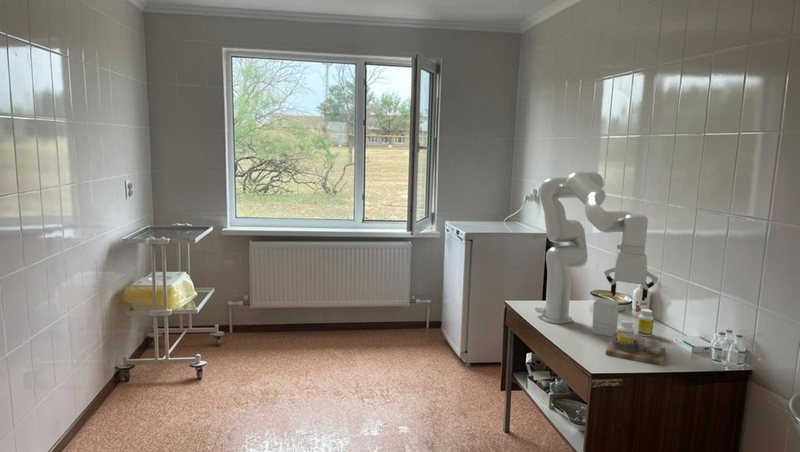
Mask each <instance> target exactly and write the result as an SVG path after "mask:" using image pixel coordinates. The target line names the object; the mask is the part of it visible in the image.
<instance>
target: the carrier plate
mask: <svg viewBox="0 0 800 452" xmlns="http://www.w3.org/2000/svg"><path fill="white" fill-rule="evenodd" d="M606 354H607V355H606ZM665 354H666V348H665V347H661V341H659V340H658V339H654V338H645V339H644V342H643V343H640V342H639V341H638V340H637V339H635V338H634V341H633V344H625V343H621V342H618V341H617V336H614V337H613V338H611V339H610V341H609V343H608V346H607V347H606V349H605V355H606V356H610V355H611V356H610V357H615V356H616V357H615V358H622V359H625V360H626V359H627V360H632V361H637V362H642V363H647V364H651V365H653V364H654V365H657V366H663V365H664V360H665Z"/></svg>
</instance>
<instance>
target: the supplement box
mask: <svg viewBox="0 0 800 452" xmlns="http://www.w3.org/2000/svg"><path fill="white" fill-rule="evenodd" d="M619 302H620V301H618V300H611V299H606V298H599V299H597V300H595V301H593V312H592V314H593V315H592V332H591V333H594V334H598V335H602V336H606V337H612V336H613V335H615V334H616V333H618V319H619V318H618V317H619Z"/></svg>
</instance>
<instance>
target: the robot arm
mask: <svg viewBox="0 0 800 452" xmlns="http://www.w3.org/2000/svg"><path fill="white" fill-rule="evenodd" d="M604 183H605V181H604V178H603V177H602V175H601V174H600V173H598V172H595V171H575V172H573V173H570V175H568V176H567V177H565V176H564V177H561V176H560V177H556V176H555V177H549V178H547V179H546V180H544V181H542V184H541V185H540V188H539V199H540V203H541V205H542V209H543V214H544V215H543V216H544V222H545V223H544V224H545V230H546V237H547V240H548V241H550V242H551V243H554V244H555V243H556V244H557V243H568V245H566V244H565V245H556V246H552V247H550V248H549V249H548V250H547V251H546V253H545V261H546V269H547V270H546V271H547V274H546V276H547V278H546V279H547V280H546V291H545V292H546V293H545V295H546V297H545V306H543V307H540V306H535V308H534V309H535V312H536V313H537V314H538V313H539V314H541V315H540V317H541V318H540V319H541V320H542V321H545V322H546V323H551V324H554V325H555V324H557V325H566V324H570V323H572V322H573V317H572V316H570V314H569V313H570V300H571V299H570V296H571V286H572V285H571V283H572V281H571V279H572V278H571V276H570V273H569V272H568V269H575V268H577V269H578V268H581V267H582V268H583V267H584V266H585V265H586V264H587V262H588V256H589V255H588V248H587V240H586V239H587V238H586V234H585V233H586V232H585V228H584V226H583V224H582V223H581V222H580V221H579V220H577V219H567V216H566V210H565V207H564V205H563V203H562V202H561V201H560V200H559V199H560V198H561V199H563V198H564V199H566V198H568V199H569V198H572V199H573V198H577V199H578V200H579V201H580V202H581V203H582V204H583V205H584V206H585V207H584V210H585V212H584V213H585V216H586V218H587V220H588V221H589V222H590V224H591V225H592V226H593V227H595V228H596V230H598V231H600V232H602V233H622V236H621V237H622V238H621V243H620V244H617V246H616V249H617V250H620V251H619V252H618V253H617V257H616V260H615V267H612V268H609V269H606V270H604V272H603V273H604V276H605V277H606V280H607V282H609V283H610V285H611V286H610V294H612V295H611V297H615V296H616V293H617V282H622V283H627V284H637V285H641V286H642V287H643V289H642V296H641V300H642V301H644V302H645V300H646V299H648V293H649V292H648V291H649V289H650V288H652V287H654V285H655V284H656V283H657V281H658V280H659V277H657V276H656V275H655V274H653V273H651V272H649V271H648V257H647V254H646V243H647V233H648V224H649V219H648V217H647V216H646V215H644V214H638V213H633V212H630V211H626V210H619V211H618V210H613V211H610V210H609V211H608V210H605V209H604V208H603V207H602V204H603V203H604V202H605V200H606V196H607V195H606V191H605V190H604V189H603V188H604V186H605V184H604ZM612 273H614V275H613V277H614V278H613V277H612V276H611V275H610V274H612ZM647 277H648V278H649V279H651V282H649V283H648V282H647V281H646V280H647Z"/></svg>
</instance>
